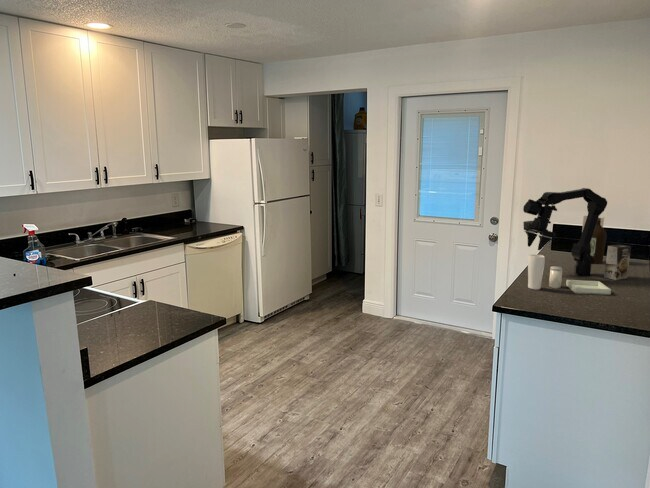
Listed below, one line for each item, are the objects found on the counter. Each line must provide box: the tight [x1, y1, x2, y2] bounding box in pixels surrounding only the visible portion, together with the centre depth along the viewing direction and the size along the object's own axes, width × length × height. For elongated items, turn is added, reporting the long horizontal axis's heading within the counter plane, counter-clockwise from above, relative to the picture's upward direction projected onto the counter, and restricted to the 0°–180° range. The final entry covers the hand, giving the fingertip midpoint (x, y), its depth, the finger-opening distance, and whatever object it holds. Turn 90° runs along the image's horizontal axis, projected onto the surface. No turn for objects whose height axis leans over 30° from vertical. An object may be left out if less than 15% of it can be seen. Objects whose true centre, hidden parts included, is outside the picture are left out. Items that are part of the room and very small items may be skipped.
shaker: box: [548, 265, 563, 289], centre depth 226 cm, size 5×5×9 cm
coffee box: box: [603, 244, 632, 281], centre depth 242 cm, size 9×6×16 cm
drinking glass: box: [527, 254, 546, 291], centre depth 223 cm, size 7×7×15 cm
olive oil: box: [590, 217, 608, 265], centre depth 276 cm, size 11×11×25 cm
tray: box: [565, 279, 612, 296], centre depth 222 cm, size 14×14×2 cm
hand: (533, 248), depth 244 cm, fingers open, 9 cm apart
